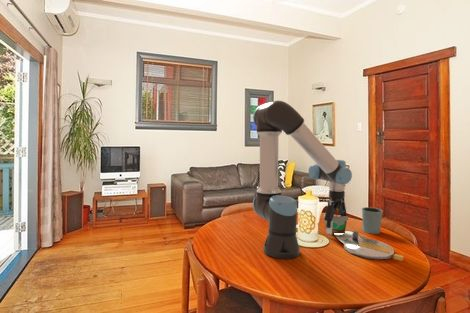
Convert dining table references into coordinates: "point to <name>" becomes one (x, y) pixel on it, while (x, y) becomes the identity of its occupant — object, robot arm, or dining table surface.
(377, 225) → the grey cup
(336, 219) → the food container
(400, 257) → the index pointer
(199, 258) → the dining table surface
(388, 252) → the grey plate
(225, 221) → the dining table surface
